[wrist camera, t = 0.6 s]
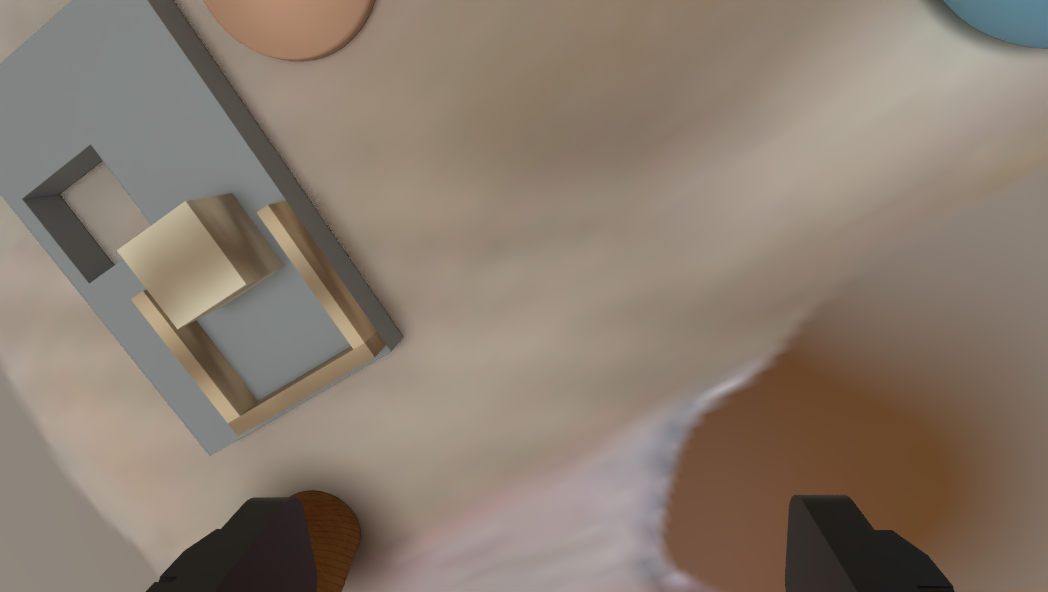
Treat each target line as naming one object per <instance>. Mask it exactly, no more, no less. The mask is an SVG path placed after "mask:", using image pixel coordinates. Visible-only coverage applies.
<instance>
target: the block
mask: <svg viewBox="0 0 1048 592" xmlns="http://www.w3.org/2000/svg"><path fill="white" fill-rule="evenodd" d="M117 252H118V253H119V254H120V255H121V257H122V258H123V259H124V261H125V262H126V263H127V265H128V266H129V267H130V268H131V270H132V271H133V272H134V274H135V275H136V276H137V278H138V279H139V280H140V281H141V283H142V284H143V285H144V287H145V288H146V289H147V290H148V292H149V293H150V294H151V296H152V297H153V298H154V300H155V301H156V302H157V303H158V305H159V306H160V307H161V309H162V310H163V311H164V312H165V314H166V315H167V316H168V318H169V319H170V320H171V322H172V323H173V324H174V325H175V327H176V328H177V329H179V328H181V327H183V326H186V325H188V324H190V323H192V322H194V321H196V320H198V319H200V318H202V317H204V316H206V315H208V314H210V313H212V312H214V311H216V310H218V309H220V308H222V307H224V306H225V305H227V304H229V303H230V302H232V301H233V300H235V299H236V298H238V297H239V296H241V295H242V294H244V293H245V292H247V291H248V290H250V289H252V288H253V287H255V286H256V285H258V284H259V283H261V282H262V281H264V280H265V279H267V278H268V277H270V276H271V275H273V274H275V273H276V272H278V271H279V270H281V269H282V268H284V265H283V264H282V262H281V261H280V260H279V258H278V257H277V255H276V254H275V253H274V251H273V250H272V248H271V247H270V246H269V244H268V243H267V241H266V240H265V238H264V237H263V236H262V234H261V233H260V231H259V230H258V229H257V227H256V226H255V224H254V223H253V222H252V220H251V219H250V217H249V216H248V215H247V213H246V212H245V210H244V209H243V208H242V206H241V205H240V203H239V202H238V201H237V199H236V198H235V196H234V195H233V194H232V193H229V194H223V195H217V196H211V197H205V198H200V199H194V200H188V201H185V202H183V203H182V204H180V205H179V206H178V207H176V208H175V209H174V210H172V211H171V212H169V213H168V214H167V215H165V216H164V217H162V218H161V219H160V220H158V221H157V222H156V223H154V224H153V225H151V226H150V227H149V228H147V229H146V230H145V231H143V232H142V233H140V234H139V235H138V236H136V237H135V238H133V239H132V240H131V241H129V242H128V243H127V244H125V245H124V246H122V247H121V248H120V249H118V250H117Z"/></svg>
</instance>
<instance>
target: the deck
mask: <svg viewBox="0 0 1048 592" xmlns="http://www.w3.org/2000/svg"><path fill="white" fill-rule="evenodd" d="M101 161H104V163H105V164H106V165H107V167H108V168H109V169H110V171H111V172H112V173H113V175H114V176H115V177H116V179H117V180H118V181H119V183H120V184H121V185H122V187H123V188H124V189H125V191H126V192H127V193H128V195H129V196H130V197H131V199H132V200H133V201H134V203H135V204H136V205H137V207H138V208H139V209H140V211H141V212H142V213H143V215H144V216H145V217H146V219H147V220H148V221H149V223H150V224H151V225H153V224H154V223H156V222H157V221H158V220H160V219H161V218H162V217H164V216H165V215H167V214H168V213H169V212H171V211H172V210H174V209H175V208H176V207H178V206H179V205H180V204H182V203H183V202H185V201H188V200H194V199H200V198H205V197H211V196H217V195H223V194H229V193H232V194H233V195H234V196H235V198H236V199H237V201H238V202H239V203H240V205H241V206H242V208H243V209H244V210H245V212H246V213H247V215H248V216H249V217H250V219H251V220H252V222H253V223H254V224H255V226H256V227H257V229H258V230H259V231H260V233H261V234H262V236H263V237H264V238H265V240H266V241H267V243H268V244H269V246H270V247H271V248H272V250H273V251H274V253H275V254H276V255H277V257H278V258H279V260H280V261H281V262H282V264H283V265H284V268H282V269H281V270H279V271H278V272H276V273H275V274H273V275H271V276H270V277H268V278H267V279H265V280H264V281H262V282H261V283H259V284H258V285H256V286H255V287H253V288H252V289H250V290H248V291H247V292H245V293H244V294H242V295H241V296H239V297H238V298H236V299H235V300H233V301H232V302H230V303H229V304H227V305H225V306H224V307H222V308H220V309H218V310H216V311H214V312H212V313H210V314H208V315H206V316H204V317H202V318H200V319H198V320H197V322H198V323H199V324H200V326H201V327H202V328H203V330H204V331H205V332H206V334H207V335H208V336H209V338H210V339H211V340H212V341H213V343H214V344H215V345H216V347H217V348H218V349H219V351H220V352H221V353H222V355H223V356H224V357H225V358H226V360H227V361H228V362H229V364H230V365H231V366H232V368H233V369H234V370H235V372H236V373H237V374H238V376H239V377H240V378H241V379H242V381H243V382H244V383H245V385H246V386H247V387H248V389H249V390H250V391H251V393H252V394H253V395H254V397H255V398H256V399H257V400H258V401H259V400H261V399H263V398H264V397H266V396H268V395H269V394H271V393H273V392H274V391H276V390H278V389H280V388H281V387H283V386H285V385H286V384H288V383H290V382H291V381H293V380H295V379H296V378H298V377H300V376H302V375H303V374H305V373H307V372H308V371H310V370H312V369H313V368H315V367H317V366H318V365H320V364H322V363H324V362H325V361H327V360H329V359H330V358H332V357H334V356H335V355H337V354H339V353H340V352H342V351H344V350H346V349H347V348H349V347H351V345H350V344H349V342H348V341H347V340H346V338H345V337H344V335H343V334H342V333H341V331H340V330H339V328H338V327H337V325H336V324H335V323H334V321H333V320H332V318H331V317H330V316H329V314H328V313H327V311H326V310H325V309H324V307H323V306H322V304H321V303H320V301H319V300H318V299H317V297H316V296H315V294H314V293H313V292H312V290H311V289H310V287H309V286H308V285H307V283H306V282H305V280H304V279H303V277H302V276H301V275H300V273H299V272H298V270H297V269H296V268H295V266H294V265H293V263H292V262H291V261H290V259H289V258H288V256H287V255H286V253H285V252H284V251H283V249H282V248H281V246H280V245H279V244H278V242H277V241H276V239H275V238H274V236H273V235H272V234H271V232H270V231H269V229H268V228H267V227H266V225H265V224H264V222H263V221H262V220H261V218H260V217H259V215H258V214H257V212H258V211H259V210H261V209H262V208H264V207H265V206H267V205H269V204H273V203H278V202H282V201H287V202H288V204H289V205H290V207H291V208H292V210H293V211H294V212H295V214H296V215H297V217H298V218H299V220H300V221H301V222H302V224H303V225H304V227H305V228H306V230H307V231H308V233H309V234H310V235H311V237H312V238H313V240H314V241H315V243H316V244H317V246H318V247H319V248H320V250H321V251H322V253H323V254H324V256H325V257H326V259H327V260H328V261H329V263H330V264H331V266H332V267H333V269H334V270H335V272H336V273H337V274H338V276H339V277H340V279H341V280H342V282H343V283H344V285H345V286H346V287H347V289H348V290H349V292H350V293H351V295H352V296H353V297H354V299H355V300H356V302H357V303H358V305H359V306H360V308H361V309H362V310H363V312H364V313H365V315H366V316H367V318H368V319H369V321H370V322H371V323H372V325H373V326H374V328H375V329H376V331H377V332H378V334H379V335H380V336H381V338H382V339H383V341H384V342H385V344H386V346H385V347H384V348H383V349H382V350H381V351H380V352H379V353H378V354H377V355H376V357H375V358H373V359H371V360H369V361H368V362H366V363H364V364H362V365H361V366H359V367H357V368H356V369H354V370H352V371H350V372H349V373H347V374H345V375H343V376H342V377H340V378H338V379H336V380H335V381H333V382H331V383H330V384H328V385H326V386H324V387H323V388H321V389H319V390H317V391H316V392H314V393H312V394H311V395H309V396H307V397H305V398H304V399H302V400H300V401H298V402H297V403H295V404H293V405H292V406H290V407H288V408H286V409H285V410H283V411H281V412H279V413H278V414H276V415H274V416H273V417H271V418H269V419H267V420H266V421H264V422H262V423H260V424H259V425H257V426H255V427H253V428H252V429H250V430H248V431H247V432H245V433H243V434H241V435H240V436H237V435H236V433H235V432H234V431H233V430H232V428H231V427H230V426H229V424H228V423H227V422H226V421H225V419H224V418H223V417H222V415H221V414H220V413H219V412H218V410H217V409H216V408H215V407H214V405H213V404H212V403H211V401H210V400H209V399H208V398H207V396H206V395H205V394H204V392H203V391H202V390H201V389H200V387H199V386H198V385H197V384H196V382H195V381H194V380H193V378H192V377H191V376H190V375H189V373H188V372H187V371H186V369H185V368H184V367H183V366H182V364H181V363H180V362H179V360H178V359H177V358H176V357H175V355H174V354H173V353H172V352H171V350H170V349H169V348H168V346H167V345H166V344H165V343H164V341H163V340H162V339H161V337H160V336H159V335H158V334H157V332H156V331H155V330H154V329H153V327H152V326H151V325H150V323H149V322H148V321H147V320H146V318H145V317H144V316H143V314H142V313H141V312H140V311H139V309H138V308H137V307H136V306H135V304H134V303H133V302H132V300H131V299H132V298H133V297H135V296H136V295H138V294H139V293H141V292H142V291H144V290H147V289H146V288H145V287H144V285H143V284H142V283H141V281H140V280H139V279H138V278H137V276H136V275H135V274H134V272H133V271H132V270H131V268H130V267H129V266H128V265H127V263H126V262H125V261H124V259H123V260H121V261H120V262H119V263H117V264H116V265H113V263H112V262H111V261H110V260H109V258H108V257H107V256H106V254H105V253H104V252H103V251H102V249H101V248H100V247H99V245H98V244H97V243H96V242H95V240H94V239H93V238H92V236H91V235H90V234H89V233H88V231H87V230H86V229H85V227H84V226H83V225H82V224H81V222H80V221H79V220H78V218H77V217H76V216H75V215H74V213H73V212H72V211H71V210H70V208H69V207H68V206H67V204H66V203H65V202H64V201H63V199H62V198H61V197H60V195H59V194H60V193H62V192H63V191H64V190H65V189H67V188H68V187H69V186H71V185H72V184H73V183H74V182H76V181H77V180H78V179H79V178H81V177H82V176H83V175H85V174H86V173H87V172H88V171H90V170H91V169H92V168H94V167H95V166H96V165H97V164H99V163H100V162H101ZM0 195H1V196H2V197H3V198H4V200H5V201H6V202H7V203H8V205H9V206H10V207H11V208H12V210H13V211H14V212H15V213H16V215H17V216H18V217H19V218H20V220H21V221H22V222H23V223H24V225H25V226H26V227H27V228H28V230H29V231H30V232H31V233H32V235H33V236H34V237H35V238H36V240H37V241H38V242H39V243H40V245H41V246H42V247H43V248H44V250H45V251H46V252H47V253H48V255H49V256H50V257H51V258H52V260H53V261H54V262H55V263H56V265H57V266H58V267H59V268H60V270H61V271H62V272H63V273H64V275H65V276H66V277H67V278H68V280H69V281H70V282H71V283H72V285H73V286H74V287H75V288H76V290H77V291H78V292H79V293H80V295H81V296H82V297H83V298H84V300H85V301H86V302H87V303H88V305H89V306H90V307H91V308H92V310H93V311H94V312H95V313H96V315H97V316H98V317H99V318H100V320H101V321H102V322H103V323H104V325H105V326H106V327H107V328H108V330H109V331H110V332H111V333H112V335H113V336H114V337H115V338H116V340H117V341H118V342H119V343H120V345H121V346H122V347H123V348H124V350H125V351H126V352H127V353H128V355H129V356H130V357H131V358H132V359H133V361H134V362H135V363H136V364H137V366H138V367H139V368H140V369H141V371H142V372H143V373H144V374H145V376H146V377H147V378H148V379H149V381H150V382H151V383H152V384H153V386H154V387H155V388H156V389H157V391H158V392H159V393H160V394H161V396H162V397H163V398H164V399H165V401H166V402H167V403H168V404H169V406H170V407H171V408H172V409H173V411H174V412H175V413H176V414H177V416H178V417H179V418H180V419H181V421H182V422H183V423H184V424H185V426H186V427H187V428H188V429H189V431H190V432H191V433H192V434H193V436H194V437H195V438H196V439H197V441H198V442H199V443H200V444H201V446H202V447H203V448H204V449H205V451H206V452H207V453H208V454H209V456H211V455H212V454H214V453H216V452H218V451H219V450H221V449H223V448H225V447H226V446H228V445H230V444H232V443H233V442H235V441H237V440H238V439H240V438H242V437H244V436H245V435H247V434H249V433H251V432H252V431H254V430H256V429H258V428H259V427H261V426H263V425H264V424H266V423H268V422H270V421H271V420H273V419H275V418H277V417H278V416H280V415H282V414H284V413H285V412H287V411H289V410H291V409H292V408H294V407H296V406H297V405H299V404H301V403H303V402H304V401H306V400H308V399H310V398H311V397H313V396H315V395H317V394H318V393H320V392H322V391H323V390H325V389H327V388H329V387H330V386H332V385H334V384H336V383H337V382H339V381H341V380H343V379H344V378H346V377H348V376H349V375H351V374H353V373H355V372H356V371H358V370H360V369H362V368H363V367H365V366H367V365H369V364H370V363H372V362H374V361H376V360H377V359H379V358H381V357H382V356H384V355H386V354H388V353H389V352H391V351H392V350H393V349H394V348H395V346H396V345H397V344H398V343H399V342H400V341H401V339H402V338H403V336H402V335H401V333H400V332H399V330H398V329H397V327H396V326H395V324H394V323H393V321H392V320H391V318H390V317H389V316H388V314H387V313H386V311H385V310H384V308H383V307H382V305H381V304H380V302H379V301H378V299H377V298H376V297H375V295H374V294H373V292H372V291H371V289H370V288H369V286H368V285H367V283H366V282H365V280H364V279H363V278H362V276H361V275H360V273H359V272H358V270H357V269H356V267H355V266H354V264H353V263H352V261H351V260H350V259H349V257H348V256H347V254H346V253H345V251H344V250H343V248H342V247H341V245H340V244H339V242H338V241H337V240H336V238H335V237H334V235H333V234H332V232H331V231H330V229H329V228H328V226H327V225H326V223H325V222H324V221H323V219H322V218H321V216H320V215H319V213H318V212H317V210H316V209H315V207H314V206H313V204H312V203H311V202H310V200H309V199H308V197H307V196H306V194H305V193H304V191H303V190H302V188H301V187H300V185H299V184H298V183H297V181H296V180H295V178H294V177H293V175H292V174H291V172H290V171H289V169H288V168H287V166H286V165H285V164H284V162H283V161H282V159H281V158H280V156H279V155H278V153H277V152H276V150H275V149H274V147H273V146H272V145H271V143H270V142H269V140H268V139H267V137H266V136H265V134H264V133H263V131H262V130H261V128H260V127H259V126H258V124H257V123H256V121H255V120H254V118H253V117H252V115H251V114H250V112H249V111H248V109H247V108H246V107H245V105H244V104H243V102H242V101H241V99H240V98H239V96H238V95H237V93H236V92H235V90H234V89H233V88H232V86H231V85H230V83H229V82H228V80H227V79H226V77H225V76H224V74H223V73H222V72H221V70H220V69H219V67H218V66H217V64H216V63H215V61H214V60H213V58H212V57H211V55H210V54H209V53H208V51H207V50H206V48H205V47H204V45H203V44H202V42H201V41H200V39H199V38H198V36H197V35H196V34H195V32H194V31H193V29H192V28H191V26H190V25H189V23H188V22H187V20H186V19H185V17H184V16H183V15H182V13H181V12H180V10H179V9H178V7H177V6H176V4H175V3H174V1H173V0H72V1H71V2H69V3H68V4H67V5H66V6H65V7H64V8H63V9H62V10H60V11H59V12H58V13H57V14H56V15H55V16H54V17H53V18H51V19H50V20H49V21H48V22H47V23H46V24H45V25H44V26H42V27H41V28H40V29H39V30H38V31H37V32H36V33H35V34H33V35H32V36H31V37H30V38H29V39H28V40H27V41H25V42H24V43H23V44H22V45H21V46H20V47H19V48H18V49H16V50H15V51H14V52H13V53H12V54H11V55H10V56H9V57H7V58H6V59H5V60H4V61H3V62H2V63H1V64H0Z"/></svg>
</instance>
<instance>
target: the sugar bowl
mask: <svg viewBox="0 0 1048 592" xmlns="http://www.w3.org/2000/svg"><path fill="white" fill-rule="evenodd" d="M943 1H944V2H945V3H946V4H947V5H948V6H949V7H950V8H951V9H952V11H953V12H954V13H955V14H957V15H958V16H959V17H960V18H962V19H963V20H964V21H965V22H967V23H968V24H969V25H971V26H973V27H974V28H976V29H978V30H980V31H981V32H983V33H985V34H987V35H990V36H992V37H995V38H998V39H1000V40H1003V41H1006V42H1008V43H1012V44H1017V45H1022V46H1026V47H1034V48H1048V0H943Z"/></svg>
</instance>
